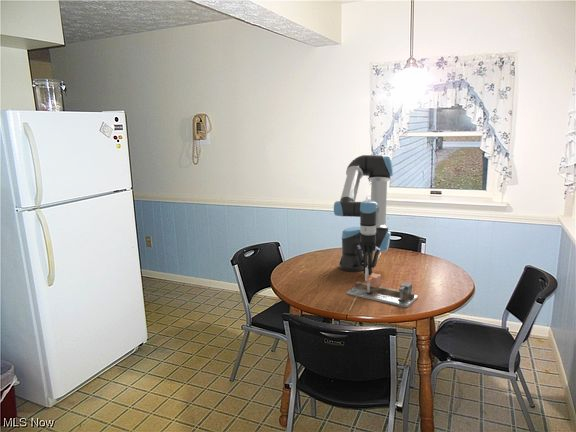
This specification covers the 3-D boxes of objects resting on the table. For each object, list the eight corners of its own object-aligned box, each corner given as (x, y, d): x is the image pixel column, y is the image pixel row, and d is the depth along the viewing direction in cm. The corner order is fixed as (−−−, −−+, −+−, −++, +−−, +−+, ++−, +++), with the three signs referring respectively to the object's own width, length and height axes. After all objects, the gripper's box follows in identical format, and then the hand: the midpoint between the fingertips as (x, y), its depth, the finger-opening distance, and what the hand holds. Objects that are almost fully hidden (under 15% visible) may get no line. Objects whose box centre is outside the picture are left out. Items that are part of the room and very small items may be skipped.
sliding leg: (362, 292, 203) (363, 278, 202) (371, 286, 210) (371, 272, 209) (372, 294, 200) (372, 280, 199) (380, 288, 207) (380, 274, 206)
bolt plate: (347, 293, 206) (347, 291, 206) (359, 285, 216) (359, 283, 216) (406, 307, 188) (406, 304, 188) (417, 297, 198) (417, 295, 198)
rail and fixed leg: (350, 290, 207) (350, 278, 206) (359, 284, 214) (359, 273, 213) (408, 303, 190) (408, 290, 189) (415, 296, 197) (415, 284, 196)
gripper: (352, 233, 204) (352, 280, 209) (377, 236, 196) (376, 285, 201) (359, 230, 210) (359, 275, 215) (384, 233, 202) (383, 280, 207)
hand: (367, 280), depth 208 cm, fingers closed
